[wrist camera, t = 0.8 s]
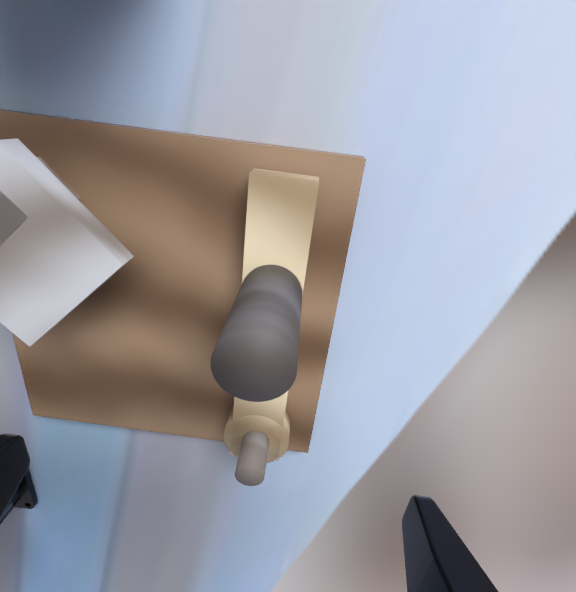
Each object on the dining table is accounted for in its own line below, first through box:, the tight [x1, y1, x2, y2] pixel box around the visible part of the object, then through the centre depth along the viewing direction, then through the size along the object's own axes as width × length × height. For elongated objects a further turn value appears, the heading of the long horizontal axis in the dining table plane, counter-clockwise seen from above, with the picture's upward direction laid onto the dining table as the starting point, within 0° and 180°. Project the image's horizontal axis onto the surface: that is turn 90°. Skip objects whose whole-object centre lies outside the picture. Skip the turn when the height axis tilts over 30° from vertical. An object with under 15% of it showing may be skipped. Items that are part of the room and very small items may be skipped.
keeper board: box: [0, 109, 366, 453], centre depth 20 cm, size 19×19×5 cm
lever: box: [210, 168, 319, 486], centre depth 18 cm, size 18×4×8 cm, turn 173°
